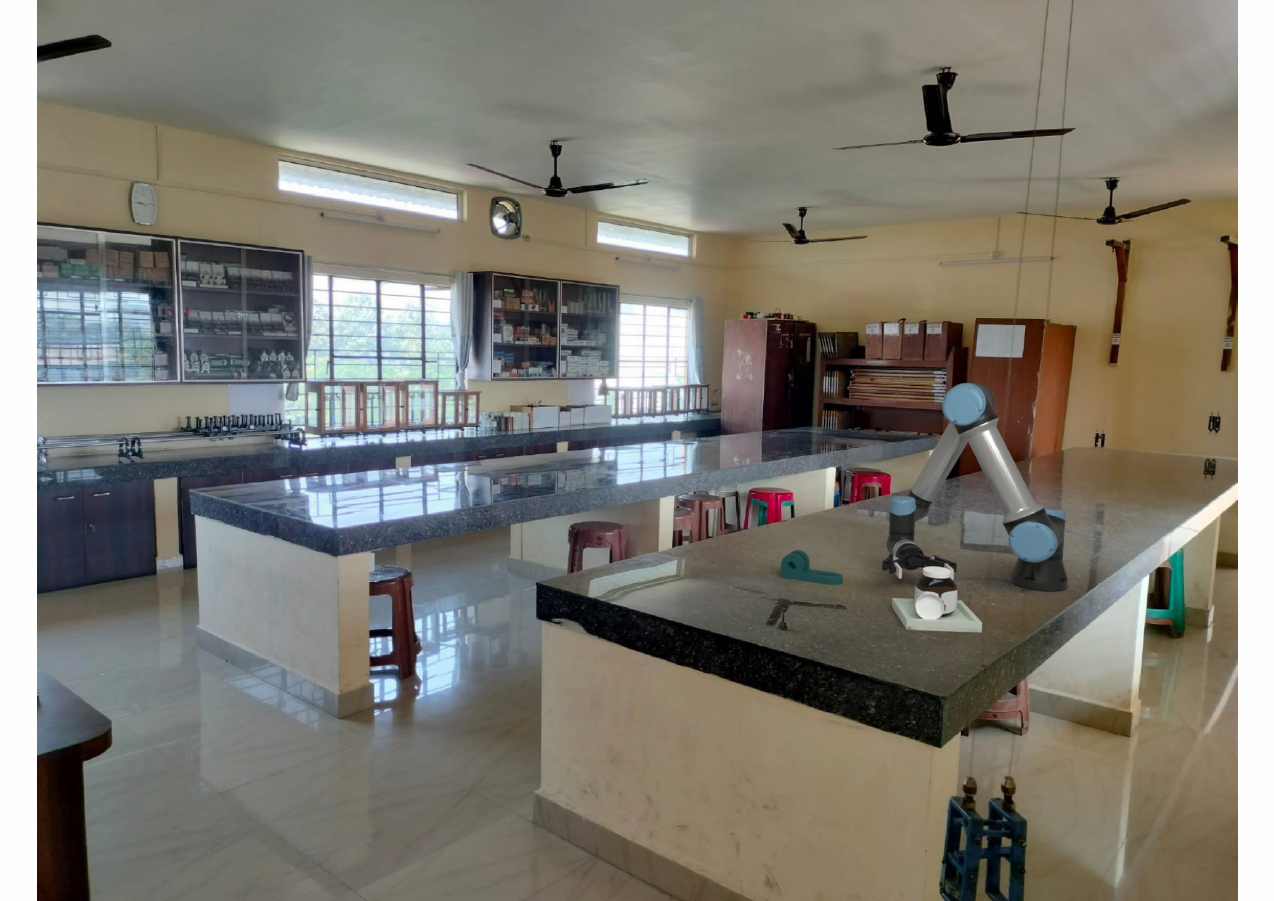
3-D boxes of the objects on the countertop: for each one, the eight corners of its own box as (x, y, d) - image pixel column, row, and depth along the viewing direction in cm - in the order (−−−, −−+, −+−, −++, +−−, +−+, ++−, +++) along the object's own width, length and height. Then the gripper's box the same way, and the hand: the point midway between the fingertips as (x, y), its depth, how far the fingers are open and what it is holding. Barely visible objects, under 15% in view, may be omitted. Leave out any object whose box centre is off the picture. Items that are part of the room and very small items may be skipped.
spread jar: (947, 608, 211) (949, 565, 210) (966, 622, 200) (968, 577, 199) (903, 608, 211) (905, 566, 209) (919, 623, 200) (921, 578, 198)
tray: (960, 609, 213) (961, 600, 213) (981, 632, 196) (982, 622, 195) (891, 606, 216) (892, 597, 215) (906, 629, 198) (906, 619, 197)
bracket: (780, 578, 244) (781, 553, 243) (788, 573, 250) (788, 548, 249) (838, 586, 235) (839, 560, 234) (845, 581, 241) (845, 555, 240)
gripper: (951, 567, 235) (973, 588, 214) (865, 566, 238) (878, 586, 217) (952, 543, 234) (974, 561, 213) (865, 541, 237) (879, 559, 216)
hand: (926, 574), depth 215 cm, fingers open, 13 cm apart
